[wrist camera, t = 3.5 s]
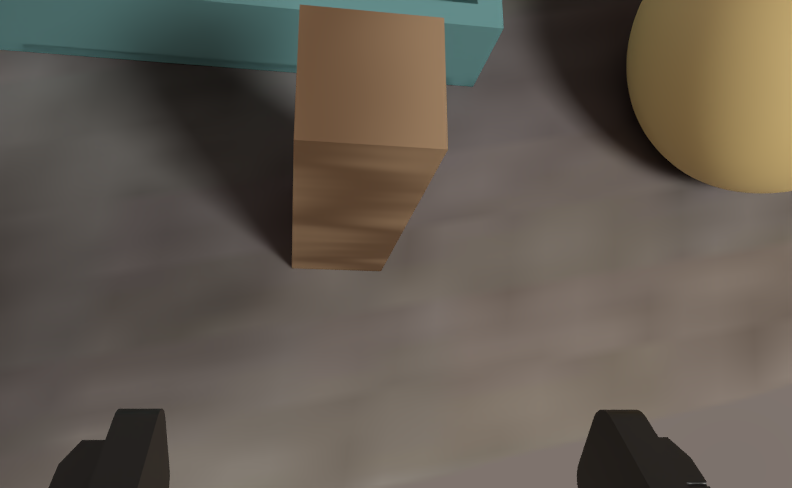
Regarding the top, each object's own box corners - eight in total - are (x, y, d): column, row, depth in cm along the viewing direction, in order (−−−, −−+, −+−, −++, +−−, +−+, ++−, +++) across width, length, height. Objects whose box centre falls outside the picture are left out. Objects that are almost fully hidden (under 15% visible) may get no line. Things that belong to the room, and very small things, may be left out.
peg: (381, 188, 28) (444, 17, 17) (381, 271, 27) (448, 149, 16) (295, 184, 27) (299, 4, 16) (291, 268, 26) (293, 139, 15)
